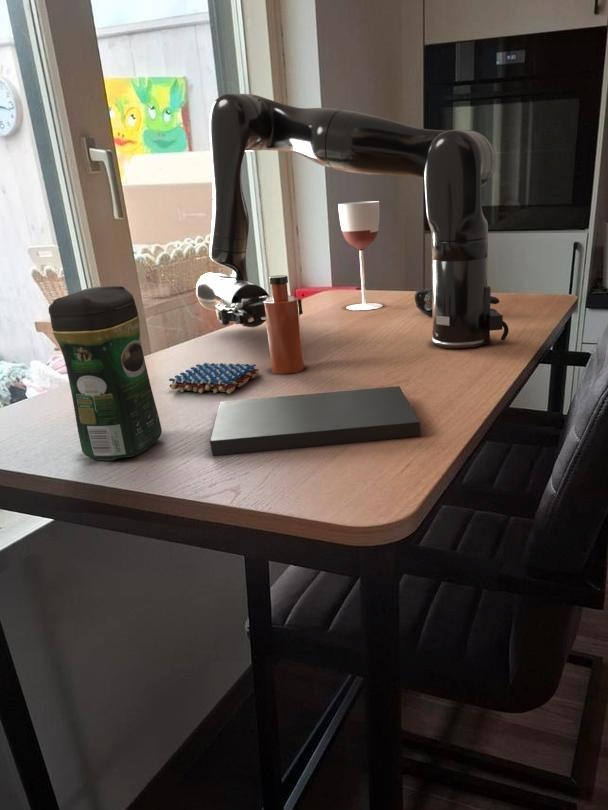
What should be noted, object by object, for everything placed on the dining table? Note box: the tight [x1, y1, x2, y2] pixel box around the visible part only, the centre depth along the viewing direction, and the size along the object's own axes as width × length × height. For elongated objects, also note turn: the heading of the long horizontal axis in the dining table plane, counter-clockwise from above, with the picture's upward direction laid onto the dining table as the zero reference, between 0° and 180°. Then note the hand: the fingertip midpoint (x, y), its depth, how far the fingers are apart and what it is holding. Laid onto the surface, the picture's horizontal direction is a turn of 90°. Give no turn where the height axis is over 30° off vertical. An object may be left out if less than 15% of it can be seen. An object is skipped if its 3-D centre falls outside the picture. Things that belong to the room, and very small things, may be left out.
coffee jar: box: [48, 285, 163, 461], centre depth 80 cm, size 10×8×19 cm
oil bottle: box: [264, 274, 305, 375], centre depth 109 cm, size 5×5×14 cm
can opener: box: [414, 288, 501, 317], centre depth 143 cm, size 18×7×6 cm, turn 67°
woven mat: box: [168, 362, 260, 395], centre depth 107 cm, size 10×11×2 cm
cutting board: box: [209, 385, 421, 456], centre depth 87 cm, size 24×15×2 cm, turn 96°
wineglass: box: [337, 200, 384, 311], centre depth 155 cm, size 9×10×22 cm
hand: (271, 316), depth 115 cm, fingers open, 8 cm apart
